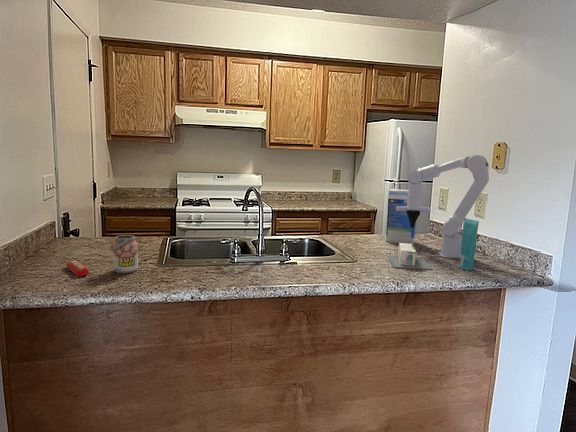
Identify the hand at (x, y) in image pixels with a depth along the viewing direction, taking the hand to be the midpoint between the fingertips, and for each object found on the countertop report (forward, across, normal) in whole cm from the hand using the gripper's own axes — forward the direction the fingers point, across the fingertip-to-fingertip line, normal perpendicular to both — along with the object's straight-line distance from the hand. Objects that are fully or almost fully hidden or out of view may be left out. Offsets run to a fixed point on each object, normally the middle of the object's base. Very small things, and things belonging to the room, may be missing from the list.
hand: (412, 227), depth 182 cm
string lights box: (+11, +2, -16) cm, 19 cm away
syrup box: (+7, +5, +14) cm, 17 cm away
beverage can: (+11, +108, +54) cm, 121 cm away
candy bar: (+11, +123, +58) cm, 136 cm away
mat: (+10, +5, +24) cm, 27 cm away
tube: (+11, -16, +27) cm, 33 cm away
